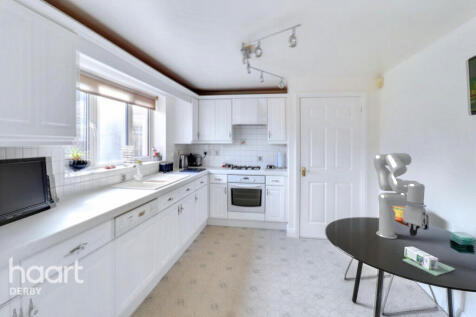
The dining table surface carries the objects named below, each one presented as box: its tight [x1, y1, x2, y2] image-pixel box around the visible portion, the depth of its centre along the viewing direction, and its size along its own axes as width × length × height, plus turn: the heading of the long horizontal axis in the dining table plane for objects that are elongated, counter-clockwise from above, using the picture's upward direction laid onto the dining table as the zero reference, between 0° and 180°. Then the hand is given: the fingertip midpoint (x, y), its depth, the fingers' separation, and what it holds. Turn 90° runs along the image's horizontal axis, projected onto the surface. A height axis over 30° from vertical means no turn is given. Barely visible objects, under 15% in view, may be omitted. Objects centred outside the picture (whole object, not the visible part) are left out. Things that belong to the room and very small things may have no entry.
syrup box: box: [404, 246, 439, 270], centre depth 120 cm, size 6×6×14 cm
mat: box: [402, 258, 456, 277], centre depth 119 cm, size 16×16×1 cm
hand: (413, 235), depth 126 cm, fingers closed
